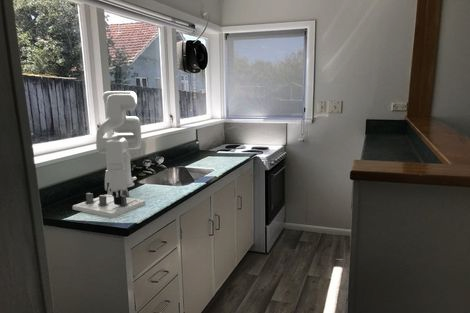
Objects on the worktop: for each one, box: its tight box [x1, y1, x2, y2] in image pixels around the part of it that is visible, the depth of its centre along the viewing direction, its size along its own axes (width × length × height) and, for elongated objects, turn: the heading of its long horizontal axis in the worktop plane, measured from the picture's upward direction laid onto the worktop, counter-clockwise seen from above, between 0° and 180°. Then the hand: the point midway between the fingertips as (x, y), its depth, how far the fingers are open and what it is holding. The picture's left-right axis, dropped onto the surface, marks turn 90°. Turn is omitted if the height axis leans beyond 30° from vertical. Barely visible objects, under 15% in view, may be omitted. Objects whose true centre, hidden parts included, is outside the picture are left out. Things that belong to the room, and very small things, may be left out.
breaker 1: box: [84, 192, 95, 204], centre depth 181 cm, size 3×4×4 cm
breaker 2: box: [98, 194, 109, 206], centre depth 177 cm, size 3×4×4 cm
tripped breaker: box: [120, 195, 129, 206], centre depth 176 cm, size 3×4×4 cm
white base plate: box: [72, 194, 146, 218], centre depth 181 cm, size 22×26×2 cm
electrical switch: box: [122, 187, 131, 198], centre depth 200 cm, size 9×5×9 cm, turn 32°
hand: (117, 204), depth 174 cm, fingers closed
